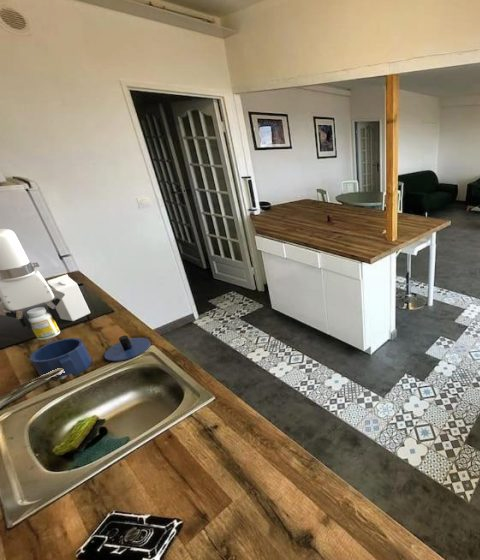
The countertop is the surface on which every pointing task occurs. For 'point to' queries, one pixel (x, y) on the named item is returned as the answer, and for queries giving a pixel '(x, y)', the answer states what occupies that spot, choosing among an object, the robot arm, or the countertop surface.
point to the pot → (62, 357)
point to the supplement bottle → (42, 323)
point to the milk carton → (69, 298)
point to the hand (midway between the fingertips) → (42, 322)
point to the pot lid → (127, 348)
